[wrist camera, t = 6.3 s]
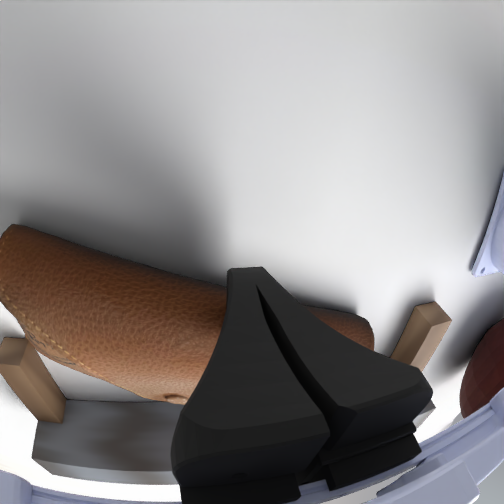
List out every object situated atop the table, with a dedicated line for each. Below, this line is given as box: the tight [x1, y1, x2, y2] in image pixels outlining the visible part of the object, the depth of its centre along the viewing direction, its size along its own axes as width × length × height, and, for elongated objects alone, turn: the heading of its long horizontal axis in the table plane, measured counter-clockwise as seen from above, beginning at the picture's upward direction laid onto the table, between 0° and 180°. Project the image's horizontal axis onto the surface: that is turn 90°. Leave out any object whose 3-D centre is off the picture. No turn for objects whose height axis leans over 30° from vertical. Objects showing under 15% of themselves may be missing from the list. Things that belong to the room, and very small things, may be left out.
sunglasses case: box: [0, 224, 374, 405], centre depth 13 cm, size 18×7×7 cm
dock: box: [0, 302, 452, 485], centre depth 15 cm, size 27×9×5 cm, turn 87°
